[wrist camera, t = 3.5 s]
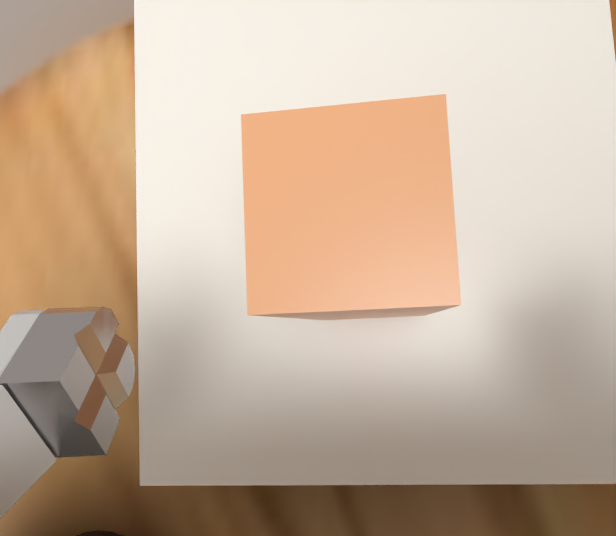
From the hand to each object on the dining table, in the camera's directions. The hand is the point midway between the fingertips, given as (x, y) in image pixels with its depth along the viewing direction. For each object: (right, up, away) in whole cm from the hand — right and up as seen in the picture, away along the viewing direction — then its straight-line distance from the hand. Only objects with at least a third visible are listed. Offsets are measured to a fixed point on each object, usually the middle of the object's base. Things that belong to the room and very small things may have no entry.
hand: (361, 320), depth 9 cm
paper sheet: (+1, +4, +7) cm, 8 cm away
